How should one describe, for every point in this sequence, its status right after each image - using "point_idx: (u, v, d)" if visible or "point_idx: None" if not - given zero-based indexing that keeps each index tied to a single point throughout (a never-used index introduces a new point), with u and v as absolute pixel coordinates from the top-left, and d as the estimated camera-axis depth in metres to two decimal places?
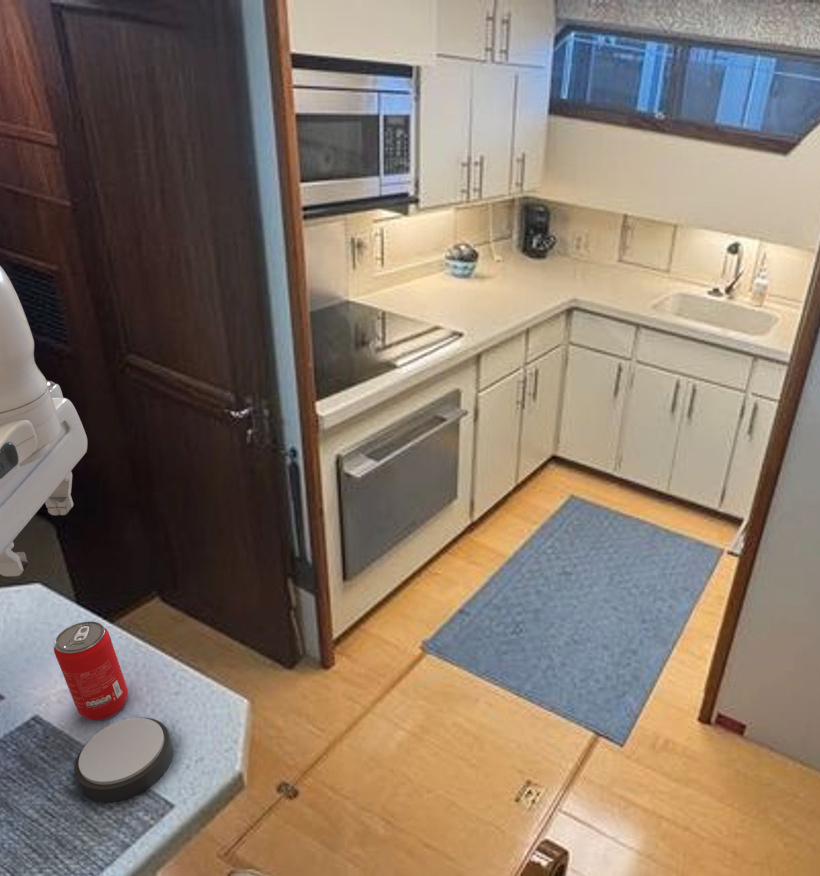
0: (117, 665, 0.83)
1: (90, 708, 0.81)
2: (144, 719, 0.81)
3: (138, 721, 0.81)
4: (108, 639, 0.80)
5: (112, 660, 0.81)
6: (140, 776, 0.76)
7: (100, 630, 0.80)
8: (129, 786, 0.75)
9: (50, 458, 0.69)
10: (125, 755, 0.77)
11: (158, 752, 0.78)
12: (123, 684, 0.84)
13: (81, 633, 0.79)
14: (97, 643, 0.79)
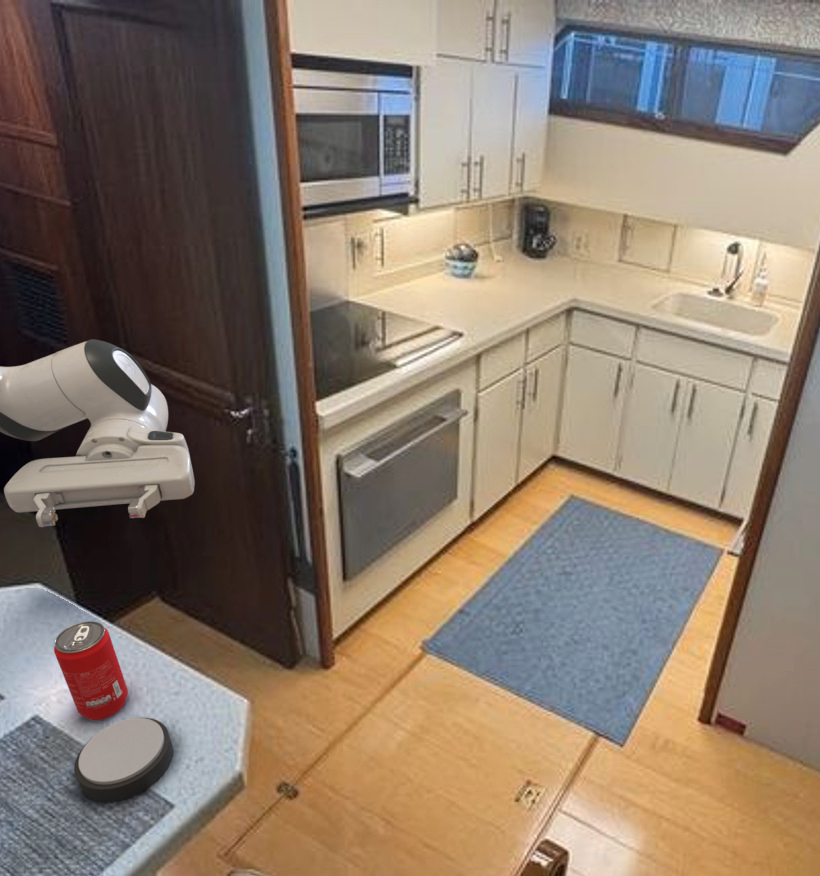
0: (117, 665, 0.83)
1: (90, 708, 0.81)
2: (144, 719, 0.81)
3: (138, 721, 0.81)
4: (108, 639, 0.80)
5: (112, 660, 0.81)
6: (140, 776, 0.76)
7: (100, 630, 0.80)
8: (129, 786, 0.75)
9: None
10: (125, 755, 0.77)
11: (158, 752, 0.78)
12: (123, 684, 0.84)
13: (81, 633, 0.79)
14: (97, 643, 0.79)
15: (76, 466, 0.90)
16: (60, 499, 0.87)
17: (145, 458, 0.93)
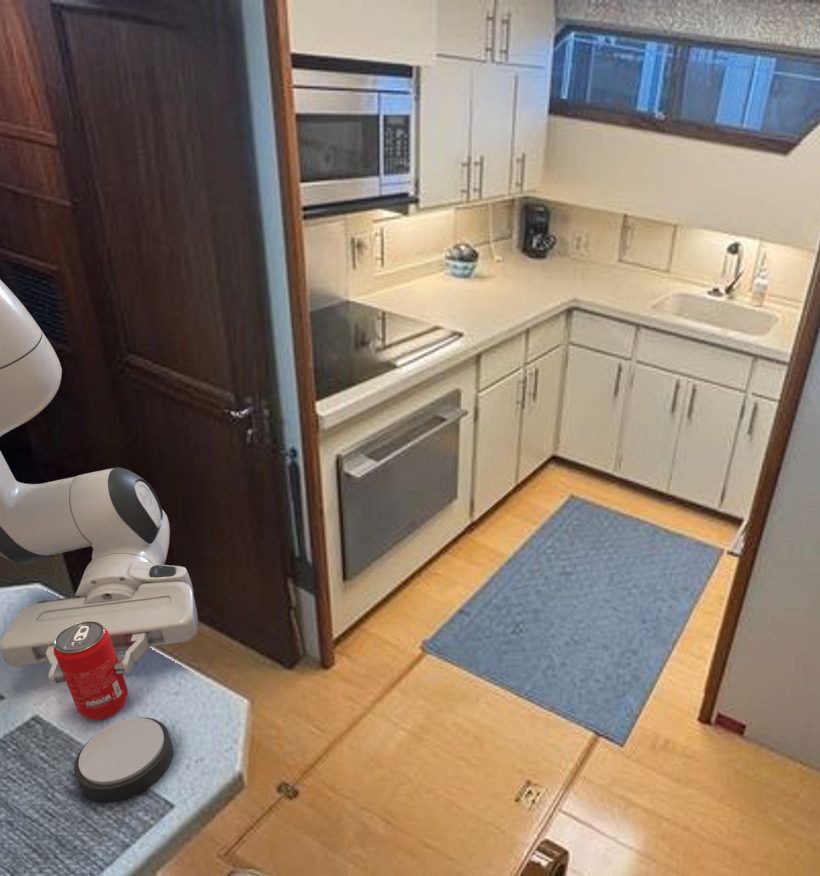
0: None
1: (90, 708, 0.81)
2: (144, 719, 0.81)
3: (138, 721, 0.81)
4: (108, 639, 0.80)
5: (112, 660, 0.81)
6: (140, 776, 0.76)
7: (100, 630, 0.80)
8: (129, 786, 0.75)
9: None
10: (125, 755, 0.77)
11: (158, 752, 0.78)
12: (123, 684, 0.84)
13: (81, 633, 0.79)
14: (97, 643, 0.79)
15: (75, 610, 0.87)
16: None
17: (147, 598, 0.90)
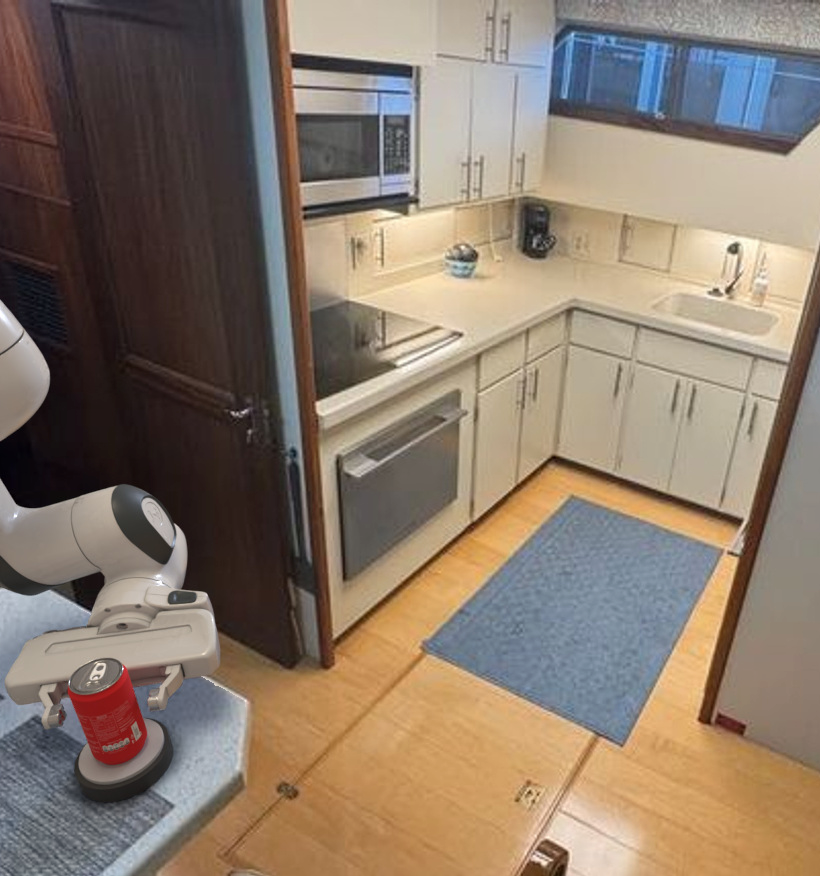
0: (136, 705, 0.75)
1: (106, 753, 0.74)
2: (144, 719, 0.81)
3: None
4: (127, 677, 0.73)
5: (131, 700, 0.74)
6: (140, 776, 0.76)
7: (118, 668, 0.73)
8: (129, 786, 0.75)
9: None
10: None
11: (158, 752, 0.78)
12: (142, 725, 0.77)
13: (97, 671, 0.72)
14: (115, 683, 0.71)
15: (87, 642, 0.79)
16: None
17: (165, 627, 0.82)
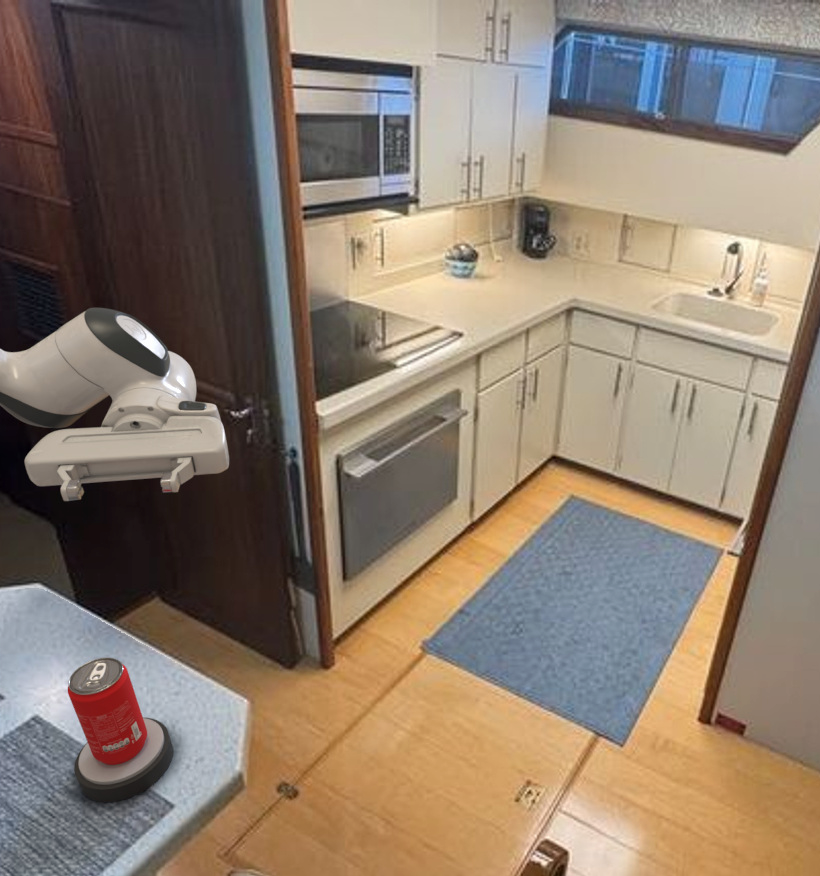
0: (136, 705, 0.75)
1: (106, 753, 0.74)
2: (144, 719, 0.81)
3: None
4: (127, 677, 0.73)
5: (131, 700, 0.74)
6: (140, 776, 0.76)
7: (118, 668, 0.73)
8: (129, 786, 0.75)
9: None
10: None
11: (158, 752, 0.78)
12: (142, 725, 0.77)
13: (97, 671, 0.72)
14: (115, 683, 0.71)
15: (102, 437, 0.83)
16: (85, 472, 0.80)
17: (176, 430, 0.86)
